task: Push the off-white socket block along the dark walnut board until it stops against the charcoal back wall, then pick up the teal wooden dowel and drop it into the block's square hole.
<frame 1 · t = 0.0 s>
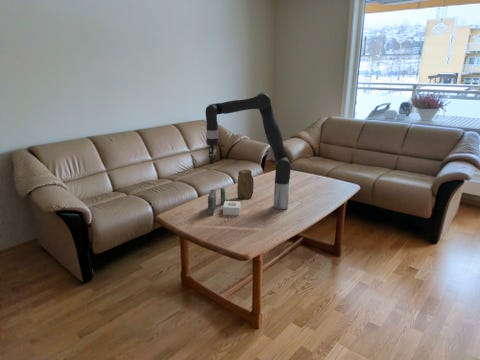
hand: (212, 161, 219), 29 cm above the table, tool pointing down, fingers open, 8 cm apart
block: (245, 197, 241), on the table
socket: (231, 208, 214), point 4 cm above the table, slide at 0.0 cm
jig: (225, 213, 215), on the table
dowel: (223, 205, 227), on the table
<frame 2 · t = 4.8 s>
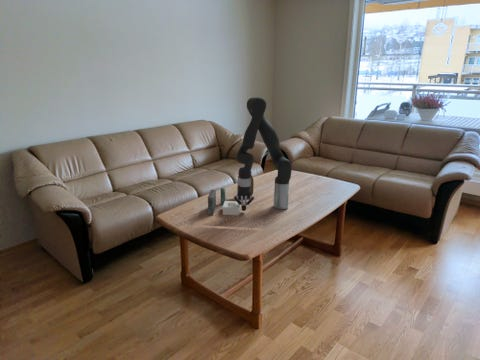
hand: (243, 210, 213), 3 cm above the table, tool pointing down, fingers closed
socket: (231, 208, 214), point 4 cm above the table, slide at 0.2 cm, touching gripper
everything else where it was.
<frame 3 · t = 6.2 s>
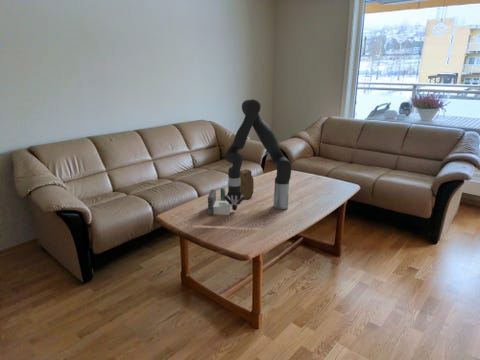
hand: (234, 210, 214), 3 cm above the table, tool pointing down, fingers closed
socket: (222, 207, 214), point 4 cm above the table, slide at 6.0 cm, touching gripper, jig
everything else where it was.
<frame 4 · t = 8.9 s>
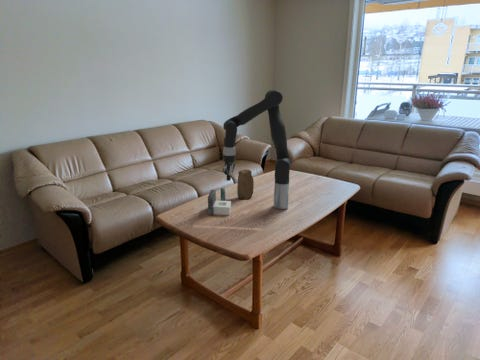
hand: (228, 180, 215), 20 cm above the table, tool pointing down, fingers closed
socket: (222, 207, 214), point 4 cm above the table, slide at 6.0 cm
everything else where it was.
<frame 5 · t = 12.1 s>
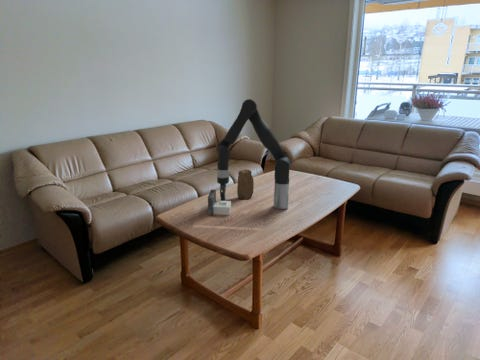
hand: (223, 200, 225), 4 cm above the table, tool pointing down, fingers closed on dowel, 3 cm apart
dowel: (223, 205, 227), on the table, touching gripper
everything else where it was.
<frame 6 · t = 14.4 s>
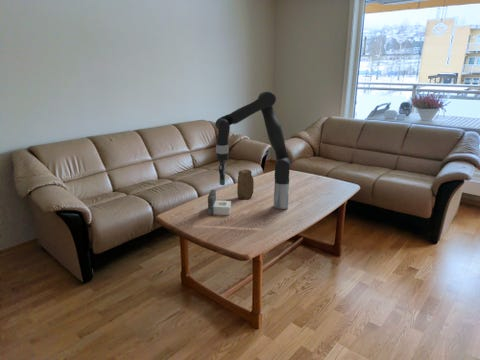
hand: (222, 178, 213), 21 cm above the table, tool pointing down, fingers closed on dowel, 3 cm apart
dowel: (222, 184, 214), point 18 cm above the table, touching gripper
everything else where it was.
when the fingers open (11 cm above the table, at t = 16.9 s): dowel drops 5 cm, resting on socket.
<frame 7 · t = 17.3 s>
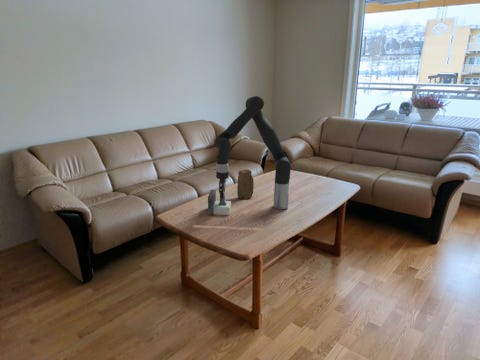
hand: (222, 195, 211), 12 cm above the table, tool pointing down, fingers open, 7 cm apart
socket: (222, 207, 214), point 4 cm above the table, slide at 6.0 cm, touching dowel
dowel: (222, 209, 214), point 2 cm above the table, touching socket
everything else where it was.
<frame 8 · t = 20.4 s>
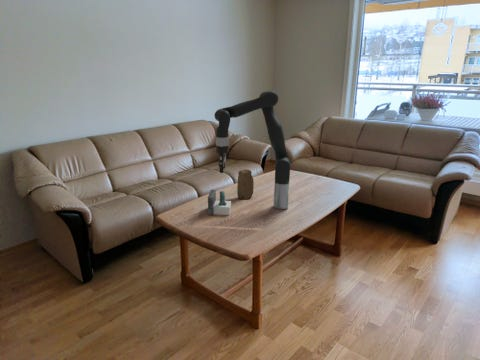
hand: (222, 170, 206), 28 cm above the table, tool pointing down, fingers open, 8 cm apart
nothing on the table moved.
at the end: dowel 0.0 cm off-centre on the socket, point 1.0 cm above the socket's base; socket slide at 6.0 cm; dowel tilted 0° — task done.
